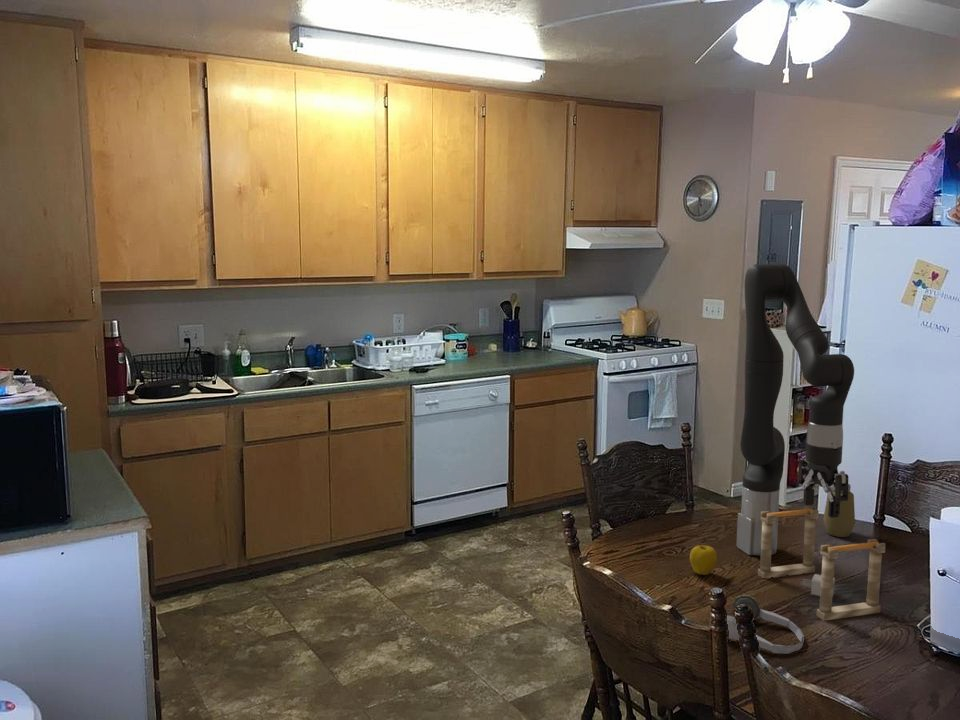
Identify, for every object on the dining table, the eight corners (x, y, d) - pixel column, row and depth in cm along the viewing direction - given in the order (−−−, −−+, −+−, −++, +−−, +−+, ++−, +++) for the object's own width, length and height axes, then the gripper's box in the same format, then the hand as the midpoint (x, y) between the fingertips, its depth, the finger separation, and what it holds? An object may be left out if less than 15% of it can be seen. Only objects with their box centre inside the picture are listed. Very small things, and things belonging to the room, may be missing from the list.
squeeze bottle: (859, 539, 215) (863, 475, 212) (829, 539, 215) (833, 475, 212) (846, 528, 223) (850, 467, 220) (817, 528, 223) (821, 467, 220)
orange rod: (830, 553, 168) (831, 548, 168) (827, 551, 169) (827, 546, 169) (880, 547, 171) (880, 542, 171) (876, 545, 172) (876, 540, 172)
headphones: (692, 630, 164) (790, 673, 153) (697, 605, 163) (797, 647, 152) (719, 598, 178) (810, 636, 167) (724, 576, 177) (816, 612, 166)
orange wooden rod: (769, 519, 189) (769, 514, 189) (766, 517, 190) (766, 512, 190) (814, 514, 192) (814, 509, 192) (811, 512, 193) (811, 507, 193)
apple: (684, 574, 193) (685, 543, 192) (697, 566, 198) (698, 536, 197) (708, 582, 189) (709, 550, 188) (720, 573, 193) (722, 543, 192)
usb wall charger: (831, 600, 179) (832, 583, 179) (799, 592, 183) (800, 576, 182) (834, 593, 182) (835, 577, 182) (802, 586, 186) (803, 570, 186)
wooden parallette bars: (824, 621, 169) (829, 550, 167) (757, 574, 193) (759, 511, 191) (881, 613, 173) (886, 543, 170) (807, 567, 196) (811, 506, 194)
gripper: (790, 435, 183) (787, 502, 186) (831, 451, 170) (827, 523, 172) (817, 433, 185) (814, 499, 188) (861, 448, 171) (856, 519, 174)
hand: (820, 510), depth 180 cm, fingers open, 8 cm apart
